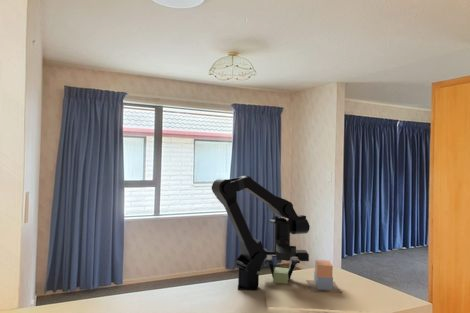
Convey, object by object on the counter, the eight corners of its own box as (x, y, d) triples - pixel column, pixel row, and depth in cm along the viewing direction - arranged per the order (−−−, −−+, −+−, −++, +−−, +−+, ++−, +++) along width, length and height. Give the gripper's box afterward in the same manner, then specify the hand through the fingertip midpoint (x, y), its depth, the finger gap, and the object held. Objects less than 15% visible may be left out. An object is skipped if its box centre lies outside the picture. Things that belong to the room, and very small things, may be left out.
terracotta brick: (317, 277, 116) (317, 265, 116) (314, 271, 123) (314, 259, 123) (332, 278, 115) (332, 265, 116) (329, 272, 122) (329, 260, 122)
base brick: (317, 289, 116) (317, 277, 116) (314, 282, 123) (314, 271, 123) (332, 290, 115) (333, 277, 116) (328, 283, 122) (328, 271, 123)
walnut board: (311, 293, 113) (311, 291, 113) (306, 281, 125) (306, 280, 125) (342, 294, 113) (342, 293, 113) (334, 283, 125) (334, 281, 125)
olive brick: (273, 283, 122) (273, 272, 122) (275, 278, 129) (275, 267, 129) (287, 285, 121) (287, 273, 121) (288, 279, 128) (289, 268, 128)
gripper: (256, 238, 118) (255, 284, 117) (311, 240, 117) (310, 287, 116) (256, 232, 129) (255, 274, 129) (306, 234, 128) (306, 277, 127)
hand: (281, 278), depth 125 cm, fingers closed on olive brick, 5 cm apart
